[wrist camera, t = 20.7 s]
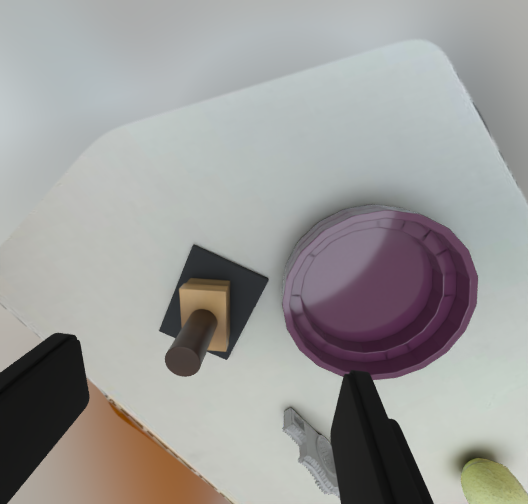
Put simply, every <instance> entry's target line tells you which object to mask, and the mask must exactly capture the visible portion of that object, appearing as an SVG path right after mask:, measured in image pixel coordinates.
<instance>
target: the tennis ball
mask: <svg viewBox="0 0 528 504" xmlns="http://www.w3.org/2000/svg"><path fill="white" fill-rule="evenodd" d="M461 484H462V489H463V492H464V495H465V497H466V499H467V501H468V503H469V504H528V494H527V492H526V491H525V490H524V488H523V486H522V485H521V484H520V483H519V481H518V480H517V479H516V477H515V476H513V474H512V473H511V472H510V471H509V469H508V468H507V467H506V466H503V465H502V464H499V463H496V462H493V461H491V460H487V459H481V458H475V459H472V460H470V461H469V462H468V463H467V464H466V465H465V466H464V468H463V471H462V474H461Z"/></svg>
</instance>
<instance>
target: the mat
mask: <svg viewBox="0 0 528 504" xmlns="http://www.w3.org/2000/svg"><path fill="white" fill-rule="evenodd" d="M190 278H197V279H212V280H228V281H230V336H229V344H228V347H227V351H226V352H224V351H211V350H207V352H209V353H212V354H214V355H216V356H219V357H221V358H223V359H226V360H227V359H228V357H229V355H230V353H231V351H232V349H233V347H234V345H235V344H236V342H237V340H238V338H239V336H240V334H241V332H242V330H243V328H244V326H245V324H246V322H247V320H248V319H249V317H250V315H251V313H252V311H253V309H254V307H255V305H256V303H257V301H258V299H259V297H260V295H261V294H262V292H263V290H264V288H265V286H266V284H267V282H268V278H266V277H264V276H262V275H259V274H257V273H255V272H253V271H251V270H248V269H246V268H244V267H242V266H240V265H238V264H235V263H233V262H231V261H229V260H227V259H224V258H222V257H220V256H218V255H216V254H214V253H211V252H209V251H207V250H205V249H203V248H200V247H198V246H196V245H193V246H192V249H191V251H190V254H189V256H188V259H187V261H186V264H185V266H184V269H183V272H182V274H181V277H180V279H179V282H178V284H177V287H176V289H175V292H174V294H173V297H172V299H171V302H170V305H169V307H168V310H167V312H166V315H165V317H164V320H163V322H162V325H161V327H160V330H159V331H160V332H162V333H165V334H167V335H169V336H172V337H174V338H176V337H177V336H178V334H179V332H180V331H181V329H182V325H181V309H180V294H179V288H180V287H181V286H182V285H183V284H184V283H187V282H188V280H189V279H190Z"/></svg>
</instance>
